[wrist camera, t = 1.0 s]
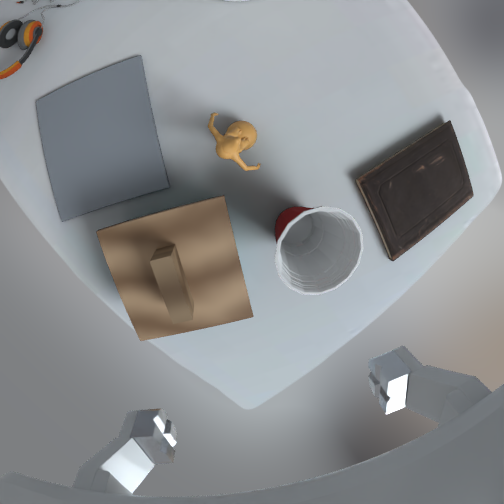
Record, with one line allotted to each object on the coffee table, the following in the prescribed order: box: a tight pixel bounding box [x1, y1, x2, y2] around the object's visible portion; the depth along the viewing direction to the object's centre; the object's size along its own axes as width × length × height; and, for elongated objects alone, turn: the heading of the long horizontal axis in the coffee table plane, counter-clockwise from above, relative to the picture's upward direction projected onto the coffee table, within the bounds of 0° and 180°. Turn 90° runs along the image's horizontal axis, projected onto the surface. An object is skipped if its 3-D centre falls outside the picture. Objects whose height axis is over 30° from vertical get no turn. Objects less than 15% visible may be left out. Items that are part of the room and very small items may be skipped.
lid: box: [96, 195, 253, 341], centre depth 33 cm, size 16×16×5 cm
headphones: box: [0, 0, 81, 79], centre depth 24 cm, size 17×5×20 cm
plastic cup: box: [275, 206, 364, 295], centre depth 37 cm, size 11×11×12 cm
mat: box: [36, 55, 170, 222], centre depth 35 cm, size 20×18×1 cm
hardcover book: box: [356, 121, 473, 261], centre depth 43 cm, size 16×23×2 cm
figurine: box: [208, 113, 260, 171], centre depth 32 cm, size 8×6×12 cm
